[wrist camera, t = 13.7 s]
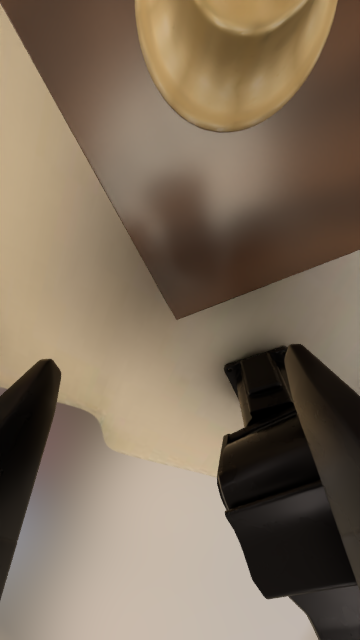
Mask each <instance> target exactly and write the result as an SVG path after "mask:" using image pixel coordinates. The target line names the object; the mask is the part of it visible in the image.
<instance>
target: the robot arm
mask: <svg viewBox="0 0 360 640" xmlns="http://www.w3.org/2000/svg"><path fill="white" fill-rule="evenodd" d="M284 351H286V352H285V353H283V352H284ZM228 369H230V370H228ZM224 370H225V373H226V375H227V377H228V379H229V381H230V383H231V385H232V387H233V389H234V391H235V393H236V395H237V397H238V399H239V401H240V407H241V412H242V417H243V422H244V427H245V428H243V429H241V430H239V431H237V432H234V433H232V434H227V435H225V436H224V437H223V443H222V449H221V455H220V461H219V467H218V474H217V485H218V489H219V493H220V496H221V499H222V501H223V504H224V506H225V508H226V511H225V516H226V518H227V520H228V521H229V523H230V524H231V526H232V527H233V529H234V531H235V533H236V536H237V537H238V540H239V542H240V544H241V547H242V550H243V553H244V556H245V559H246V562H247V565H248V568H249V571H250V574H251V577H252V580H253V581H254V583H255V584H256V586H257V587H258V588H259V590H260V591H261V593H262V594H263V596H264V597H265V598H266V599H273V598H279V597H286V596H288V597H289V598H290V599H291V600H292V601H293V602H295V604H296V605H298V607H300V608H301V609H302V610H303V611H304V612H305V614H306V615H307V617H308V619H309V620H310V622H311V624H312V626H313V628H314V631H315V633H316V635H317V637H318V640H360V396H359V395H358V394H357V393H356V392H355V391H354V390H352V389H351V388H350V387H349V386H348V385H347V384H346V383H345V382H343V381H342V380H341V379H340V378H339V377H338V376H337V375H336V374H334V373H333V372H332V371H331V370H330V369H329V368H328V367H327V366H325V365H324V364H323V363H322V362H321V361H320V360H319V359H318V358H316V357H315V356H314V355H313V354H312V353H311V352H310V351H309V350H307V349H306V348H305V347H304V346H303V345H301V344H291V345H289V346H288V348H287V347H281V348H278V349H274V350H271V351H268V352H265V353H262V354H258V355H255V356H252V357H249V358H246V359H243V360H239V361H236V362H233V363H230V364H227V365H225V367H224ZM60 381H61V371H60V369H59V368H58V367H57V365H56V364H55V362H54V361H53V360H52V359H42V360H39V361H38V362H37V363H36V364H35V365H34V366H33V367H32V368H30V369H29V370H28V371H27V372H26V373H25V374H24V375H23V376H22V377H21V378H20V379H19V380H17V381H16V382H15V383H14V384H13V385H12V386H11V387H10V388H9V389H8V390H7V391H5V392H4V393H3V394H2V395H1V396H0V600H1V596H2V593H3V589H4V586H5V582H6V579H7V576H8V572H9V569H10V565H11V562H12V558H13V555H14V552H15V548H16V545H17V540H18V537H19V534H20V530H21V527H22V524H23V520H24V517H25V513H26V510H27V506H28V503H29V499H30V496H31V493H32V489H33V486H34V482H35V479H36V476H37V472H38V469H39V465H40V462H41V458H42V455H43V452H44V448H45V445H46V441H47V438H48V434H49V431H50V428H51V424H52V421H53V417H54V413H55V409H56V403H57V398H58V392H59V386H60Z"/></svg>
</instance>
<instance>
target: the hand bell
mask: <svg viewBox="0 0 360 640" xmlns="http://www.w3.org/2000/svg"><path fill="white" fill-rule="evenodd" d="M337 2H338V0H135V17H136V25H137V32H138V38H139V43H140V47H141V50H142V54H143V57H144V61H145V63H146V66H147V69H148V71H149V74H150V76H151V78H152V80H153V82H154V84H155V86H156V87H157V89H158V91H159V92H160V94H161V95H162V97H163V98H164V99H165V101H166V102H167V103H168V104H169V105H170V106H171V107H172V108H173V109H174V110H175V111H176V112H177V113H178V114H179V115H180V116H181V117H182V118H184V119H185V120H187V121H188V122H190V123H192V124H194V125H195V126H197V127H199V128H202V129H205V130H210V131H215V132H234V131H240V130H244V129H248V128H250V127H253V126H255V125H257V124H259V123H261V122H263V121H265V120H266V119H268V118H270V117H271V116H272V115H274V114H275V113H276V112H277V111H279V110H280V109H281V108H282V107H283V106H284V105H286V104H287V103H288V101H289V100H290V99H291V98H292V97H293V96H294V95H295V94H296V92H297V91H298V90H299V89H300V87H301V86H302V85H303V83H304V82H305V81H306V79H307V78H308V76H309V75H310V73H311V71H312V70H313V68H314V66H315V64H316V62H317V60H318V58H319V56H320V54H321V52H322V50H323V47H324V45H325V43H326V40H327V38H328V35H329V33H330V29H331V26H332V23H333V19H334V16H335V12H336V7H337Z"/></svg>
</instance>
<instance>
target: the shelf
mask: <svg viewBox="0 0 360 640" xmlns="http://www.w3.org/2000/svg"><path fill="white" fill-rule="evenodd" d="M0 3H1V5H2V7H3V9H4V11H5V12H6V14H7V16H8V18H9V20H10V21H11V23H12V25H13V27H14V29H15V30H16V32H17V34H18V36H19V38H20V39H21V41H22V43H23V45H24V47H25V48H26V50H27V52H28V54H29V56H30V57H31V59H32V61H33V63H34V65H35V66H36V68H37V70H38V72H39V74H40V75H41V77H42V79H43V81H44V83H45V84H46V86H47V88H48V90H49V92H50V93H51V95H52V97H53V99H54V101H55V102H56V104H57V106H58V108H59V110H60V111H61V113H62V115H63V117H64V119H65V120H66V122H67V124H68V126H69V128H70V129H71V131H72V133H73V135H74V137H75V138H76V140H77V142H78V144H79V146H80V147H81V149H82V151H83V153H84V155H85V156H86V158H87V160H88V162H89V164H90V165H91V167H92V169H93V171H94V173H95V174H96V176H97V178H98V180H99V182H100V183H101V185H102V187H103V189H104V191H105V192H106V194H107V196H108V198H109V200H110V201H111V203H112V205H113V207H114V208H115V210H116V212H117V214H118V216H119V217H120V219H121V221H122V223H123V225H124V226H125V228H126V230H127V232H128V234H129V235H130V237H131V239H132V241H133V243H134V244H135V246H136V248H137V250H138V252H139V253H140V255H141V257H142V259H143V261H144V262H145V264H146V266H147V268H148V270H149V271H150V273H151V275H152V277H153V279H154V280H155V282H156V284H157V286H158V288H159V289H160V291H161V293H162V295H163V297H164V298H165V300H166V302H167V304H168V306H169V307H170V309H171V311H172V313H173V315H174V316H175V318H176V320H178V319H180V318H183V317H186V316H188V315H191V314H193V313H196V312H199V311H201V310H204V309H206V308H209V307H212V306H214V305H217V304H219V303H222V302H225V301H227V300H230V299H232V298H235V297H238V296H240V295H243V294H245V293H248V292H251V291H253V290H256V289H258V288H261V287H264V286H266V285H269V284H271V283H274V282H277V281H279V280H282V279H284V278H287V277H290V276H292V275H295V274H297V273H300V272H303V271H305V270H308V269H311V268H313V267H316V266H318V265H321V264H324V263H326V262H329V261H331V260H334V259H337V258H339V257H342V256H344V255H347V254H350V253H352V252H355V251H357V250H360V0H338V2H337V7H336V12H335V16H334V19H333V23H332V26H331V29H330V33H329V35H328V38H327V40H326V43H325V45H324V47H323V50H322V52H321V54H320V56H319V58H318V60H317V62H316V64H315V66H314V68H313V70H312V71H311V73H310V75H309V76H308V78H307V79H306V81H305V82H304V83H303V85H302V86H301V87H300V89H299V90H298V91H297V92H296V94H295V95H294V96H293V97H292V98H291V99H290V100H289V101H288V103H287V104H286V105H284V106H283V107H282V108H281V109H280V110H279V111H277V112H276V113H275V114H274V115H272V116H271V117H270V118H268V119H266V120H265V121H263V122H261V123H259V124H257V125H255V126H253V127H250V128H248V129H244V130H240V131H234V132H215V131H210V130H205V129H202V128H199V127H197V126H195V125H194V124H192V123H190V122H188V121H187V120H185V119H184V118H182V117H181V116H180V115H179V114H178V113H177V112H176V111H175V110H174V109H173V108H172V107H171V106H170V105H169V104H168V103H167V102H166V101H165V99H164V98H163V97H162V95H161V94H160V92H159V91H158V89H157V87H156V86H155V84H154V82H153V80H152V78H151V76H150V74H149V71H148V69H147V66H146V63H145V61H144V57H143V54H142V50H141V47H140V43H139V38H138V32H137V25H136V17H135V0H0Z"/></svg>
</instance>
